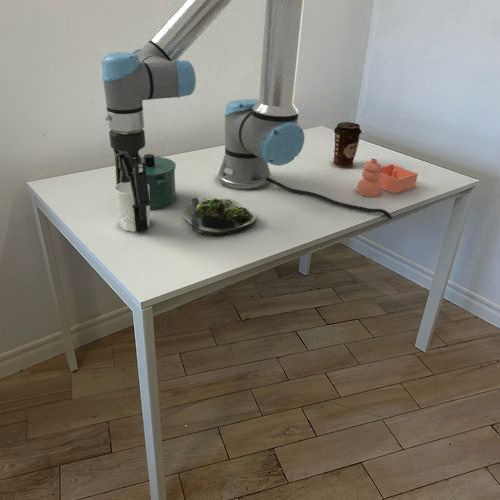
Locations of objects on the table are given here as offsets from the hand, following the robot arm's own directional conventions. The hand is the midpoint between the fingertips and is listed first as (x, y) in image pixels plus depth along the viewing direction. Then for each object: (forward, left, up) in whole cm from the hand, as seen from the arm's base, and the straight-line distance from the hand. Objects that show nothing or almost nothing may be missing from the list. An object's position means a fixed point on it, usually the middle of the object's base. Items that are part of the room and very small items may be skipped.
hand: (135, 222), depth 120 cm
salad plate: (-18, -9, -1) cm, 20 cm away
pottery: (-55, -46, -1) cm, 72 cm away
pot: (+3, -15, -1) cm, 15 cm away
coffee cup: (-42, -61, -1) cm, 74 cm away
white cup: (0, 0, -1) cm, 1 cm away
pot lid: (+3, -15, +8) cm, 17 cm away
